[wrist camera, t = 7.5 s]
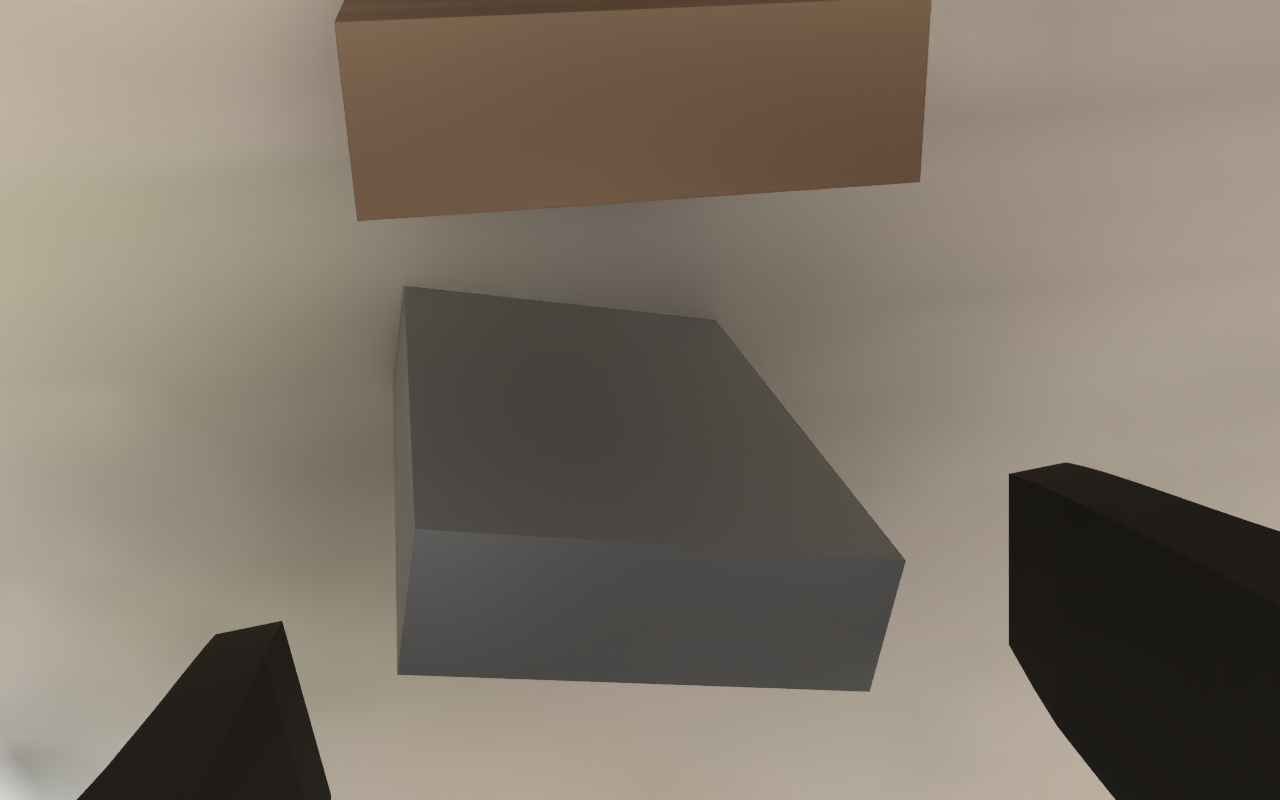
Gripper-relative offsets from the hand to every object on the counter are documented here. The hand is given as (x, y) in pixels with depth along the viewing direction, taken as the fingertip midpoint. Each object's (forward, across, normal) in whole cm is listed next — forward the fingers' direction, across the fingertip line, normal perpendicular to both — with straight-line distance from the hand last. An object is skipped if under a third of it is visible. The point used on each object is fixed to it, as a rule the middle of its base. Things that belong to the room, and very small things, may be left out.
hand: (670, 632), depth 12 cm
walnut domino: (+8, 0, -5) cm, 10 cm away
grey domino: (+8, 0, 0) cm, 8 cm away
